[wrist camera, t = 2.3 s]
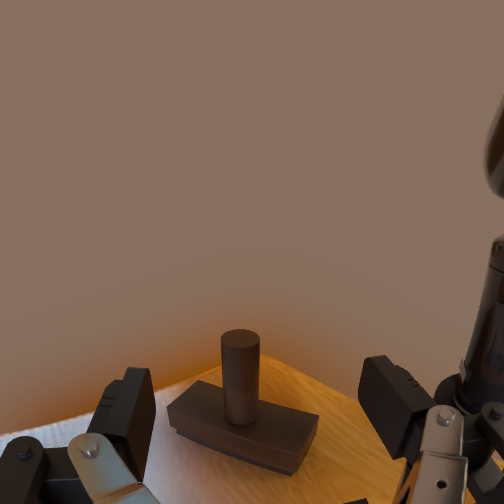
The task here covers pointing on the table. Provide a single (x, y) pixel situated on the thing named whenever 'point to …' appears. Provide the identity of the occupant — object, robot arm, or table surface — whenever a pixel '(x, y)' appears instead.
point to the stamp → (243, 412)
